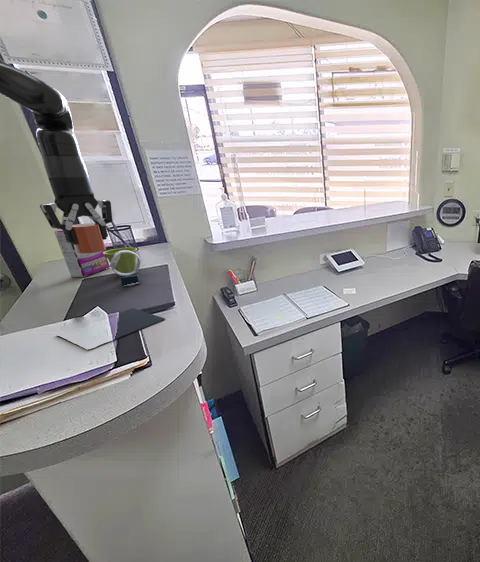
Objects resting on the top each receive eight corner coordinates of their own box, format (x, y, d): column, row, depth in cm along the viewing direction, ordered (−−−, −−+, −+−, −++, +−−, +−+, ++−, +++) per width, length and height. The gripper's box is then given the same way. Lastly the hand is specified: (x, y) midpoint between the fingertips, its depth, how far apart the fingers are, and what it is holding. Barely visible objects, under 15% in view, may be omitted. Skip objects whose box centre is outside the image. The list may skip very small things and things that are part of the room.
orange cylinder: (84, 254, 80) (76, 227, 78) (73, 252, 82) (64, 225, 80) (110, 249, 85) (103, 224, 83) (98, 247, 87) (91, 222, 85)
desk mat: (88, 351, 64) (87, 349, 64) (55, 335, 70) (55, 334, 70) (165, 319, 78) (165, 318, 78) (133, 309, 84) (133, 307, 83)
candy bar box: (97, 267, 117) (83, 224, 112) (110, 268, 117) (97, 224, 111) (69, 277, 107) (52, 230, 101) (83, 277, 107) (67, 230, 101)
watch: (115, 283, 102) (105, 251, 98) (145, 278, 106) (137, 247, 102) (115, 288, 97) (104, 255, 94) (146, 283, 102) (137, 251, 98)
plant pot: (104, 276, 108) (96, 252, 105) (132, 268, 117) (126, 246, 114) (121, 279, 105) (113, 255, 102) (149, 271, 113) (143, 248, 110)
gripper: (94, 175, 85) (112, 235, 90) (21, 175, 72) (46, 245, 78) (110, 175, 82) (127, 238, 88) (36, 176, 69) (61, 249, 75)
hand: (89, 241), depth 83 cm, fingers closed on orange cylinder, 6 cm apart
